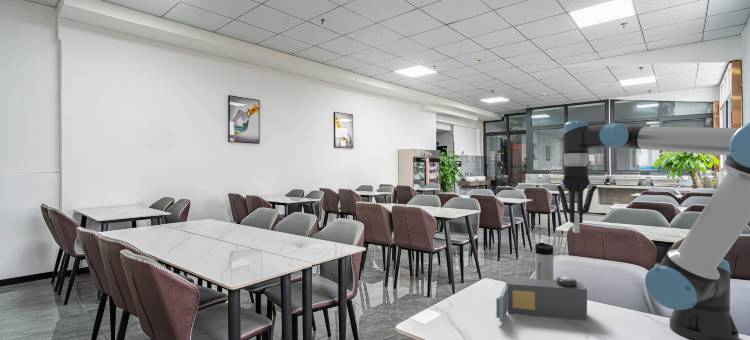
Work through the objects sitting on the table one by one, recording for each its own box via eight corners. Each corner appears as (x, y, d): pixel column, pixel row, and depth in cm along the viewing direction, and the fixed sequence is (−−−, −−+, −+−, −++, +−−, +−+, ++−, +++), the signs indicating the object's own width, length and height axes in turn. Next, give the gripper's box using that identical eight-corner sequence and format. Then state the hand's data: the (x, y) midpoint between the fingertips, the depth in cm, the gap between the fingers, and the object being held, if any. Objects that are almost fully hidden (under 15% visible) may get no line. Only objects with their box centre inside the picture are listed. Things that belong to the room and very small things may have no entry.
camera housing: (579, 310, 124) (579, 275, 123) (587, 320, 116) (586, 283, 116) (505, 304, 130) (505, 271, 130) (508, 313, 122) (507, 277, 122)
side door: (500, 309, 123) (500, 286, 123) (507, 310, 122) (507, 287, 122) (496, 320, 114) (496, 295, 114) (503, 322, 113) (502, 296, 113)
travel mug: (549, 293, 140) (549, 242, 140) (556, 299, 134) (556, 246, 134) (532, 293, 141) (532, 242, 141) (538, 299, 134) (538, 246, 134)
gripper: (592, 165, 129) (593, 231, 129) (553, 165, 132) (553, 229, 133) (600, 165, 122) (600, 234, 122) (558, 165, 125) (558, 233, 125)
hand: (576, 232), depth 127 cm, fingers closed
